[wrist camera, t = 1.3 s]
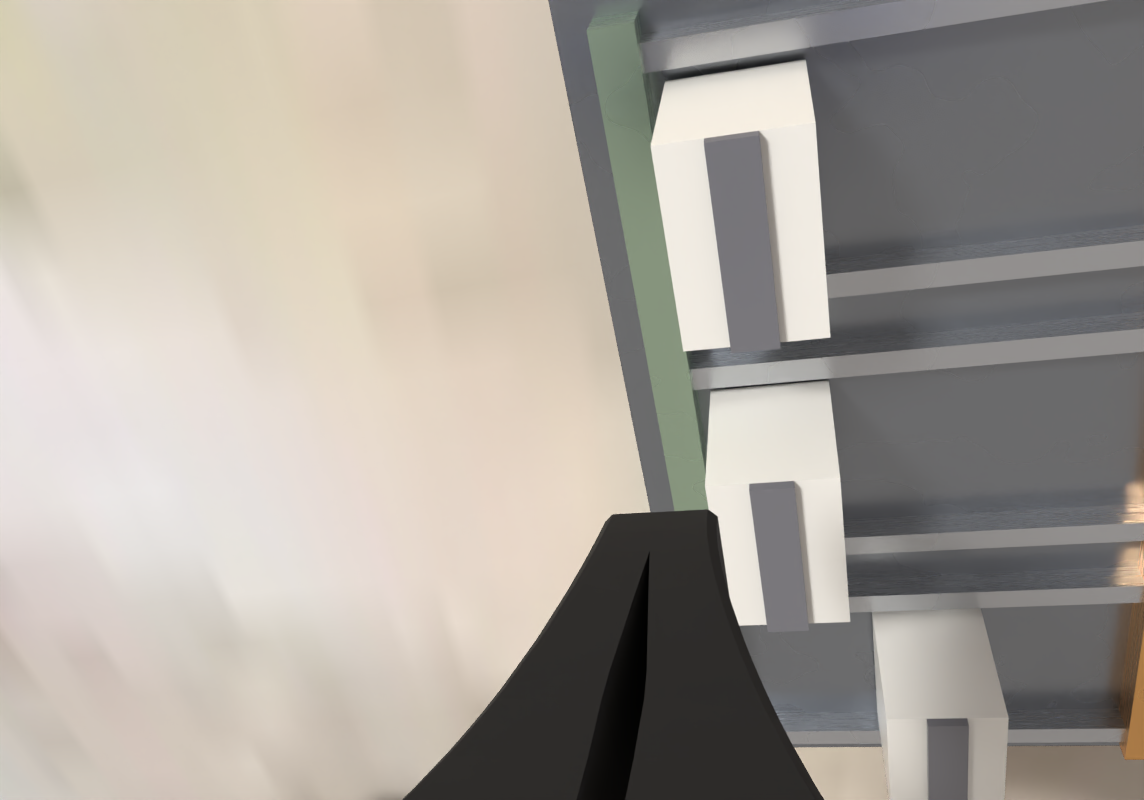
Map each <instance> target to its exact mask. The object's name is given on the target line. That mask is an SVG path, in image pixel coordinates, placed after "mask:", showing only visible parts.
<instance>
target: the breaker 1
mask: <svg viewBox="0 0 1144 800" xmlns="http://www.w3.org/2000/svg"><path fill="white" fill-rule="evenodd" d="M651 152H652V159H653V165H654V171H655V177H656V184H657V190H658V196H659V202H660V209H661V215H662V221H663V227H664V234H665V240H666V246H667V252H668V259H669V265H670V271H671V277H672V284H673V290H674V296H675V302H676V309H677V315H678V321H679V327H680V334H681V340H682V346H683V352H684V351H694V350H705V349H715V348H726V347H730V348H731V353H740V352H750V351H761V350H772V349H781V345H780V342H790V341H800V340H811V339H822V338H830V324H829V309H828V295H827V280H826V266H825V252H824V237H823V223H822V209H821V194H820V180H819V166H818V151H817V137H816V122H815V116H814V110H813V103H812V97H811V91H810V84H809V78H808V72H807V65H806V59H804V60H798V61H792V62H785V63H779V64H772V65H766V66H759V67H753V68H747V69H740V70H734V71H727V72H721V73H714V74H708V75H701V76H695V77H689V78H682V79H676V80H669V81H665V84H664V88H663V93H662V97H661V102H660V106H659V110H658V115H657V119H656V124H655V128H654V132H653V137H652V141H651Z"/></svg>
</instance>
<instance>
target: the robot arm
mask: <svg viewBox="0 0 1144 800" xmlns="http://www.w3.org/2000/svg"><path fill="white" fill-rule="evenodd" d="M403 800H824V799H823V797H822V795H821V794H820V792H819V791H818V789H817V787H816V786H815V784H814V782H813V781H812V779H811V777H810V775H809V774H808V772H807V770H806V768H805V766H804V765H803V763H802V761H801V759H800V758H799V756H798V754H797V752H796V750H795V749H794V747H793V745H792V743H791V741H790V739H789V737H788V735H787V733H786V731H785V729H784V728H783V726H782V724H781V722H780V720H779V718H778V716H777V714H776V712H775V710H774V708H773V706H772V703H771V701H770V699H769V697H768V695H767V693H766V691H765V688H764V686H763V684H762V681H761V679H760V677H759V675H758V672H757V670H756V668H755V665H754V663H753V661H752V658H751V656H750V653H749V651H748V648H747V646H746V643H745V641H744V638H743V635H742V632H741V629H740V627H739V624H738V621H737V618H736V615H735V612H734V609H733V606H732V603H731V600H730V597H729V590H728V583H727V576H726V569H725V563H724V556H723V549H722V542H721V536H720V529H719V522H718V516H717V515H715V514H714V513H712V512H711V511H710V510H708V509H704V510H685V511H667V512H649V513H631V514H613V515H612V516H611V517H610V518H609V519H608V520H607V521H606V522H605V524H604V526H603V528H602V530H601V532H600V534H599V536H598V537H597V539H596V541H595V543H594V545H593V547H592V549H591V551H590V552H589V554H588V556H587V558H586V560H585V562H584V563H583V565H582V567H581V569H580V570H579V572H578V574H577V575H576V577H575V579H574V581H573V582H572V584H571V586H570V587H569V589H568V591H567V593H566V594H565V596H564V597H563V599H562V600H561V602H560V604H559V605H558V607H557V608H556V610H555V612H554V613H553V615H552V616H551V618H550V619H549V621H548V623H547V624H546V626H545V627H544V629H543V630H542V632H541V634H540V635H539V637H538V638H537V639H536V641H535V642H534V644H533V645H532V647H531V648H530V649H529V651H528V652H527V654H526V655H525V656H524V658H523V659H522V661H521V662H520V663H519V665H518V666H517V668H516V669H515V670H514V672H513V673H512V675H511V676H510V677H509V679H508V680H507V681H506V683H505V684H504V686H503V687H502V688H501V690H500V691H499V692H498V693H497V695H496V696H495V697H494V699H493V700H492V701H491V702H490V704H489V705H488V706H487V707H486V709H485V710H484V711H483V712H482V714H481V715H480V716H479V717H478V718H477V720H476V721H475V722H474V723H473V724H472V726H471V727H470V728H469V729H468V730H467V731H466V733H465V734H464V735H463V736H462V737H461V738H460V740H459V741H458V742H457V743H456V744H455V745H454V746H453V748H452V749H451V750H450V751H449V752H448V753H447V754H446V755H445V756H444V757H443V758H442V759H441V760H440V761H439V762H438V764H437V765H436V766H435V767H434V768H433V769H432V770H431V771H430V772H429V773H428V774H427V775H426V776H425V777H424V778H423V779H422V780H421V781H420V783H419V784H418V785H417V786H416V787H415V788H414V789H413V790H412V791H411V792H410V793H409V794H408V795H407V796H406V797H405V798H404V799H403Z"/></svg>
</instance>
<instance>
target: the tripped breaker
mask: <svg viewBox="0 0 1144 800" xmlns="http://www.w3.org/2000/svg"><path fill="white" fill-rule="evenodd" d="M872 623H873V642H874V661H875V680H876V698H877V713H878V721H879V729H880V737H881V745H882V753H883V761H884V768H885V776H886V784H887V792H888V800H1005V781H1006V761H1007V741H1008V721H1009V717H1008V713H1007V709H1006V705H1005V702H1004V698H1003V694H1002V690H1001V686H1000V682H999V678H998V674H997V670H996V666H995V662H994V658H993V655H992V651H991V647H990V643H989V639H988V635H987V631H986V627H985V623H984V619H983V615H982V612H981V608H970V609H941V610H912V611H883V612H872Z"/></svg>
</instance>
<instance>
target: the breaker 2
mask: <svg viewBox="0 0 1144 800" xmlns="http://www.w3.org/2000/svg"><path fill="white" fill-rule="evenodd" d="M705 490H706V496H707V502H708V508H709V510H710V511H711V512H712V513H714V514H715V515H717V516H718V522H719V529H720V536H721V542H722V549H723V556H724V563H725V569H726V576H727V583H728V590H729V597H730V600H731V603H732V606H733V609H734V612H735V615H736V618H737V621H738V624H739V626H743V625H767V630H768V632H789V631H809V623H835V622H850V611H849V597H848V582H847V568H846V553H845V539H844V525H843V510H842V496H841V482H840V472H839V463H838V454H837V446H836V437H835V429H834V420H833V412H832V403H831V394H830V386H829V380H826V381H814V382H802V383H790V384H779V385H767V386H755V387H743V388H732V389H720V390H711V391H710V409H709V426H708V443H707V461H706V478H705Z"/></svg>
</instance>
